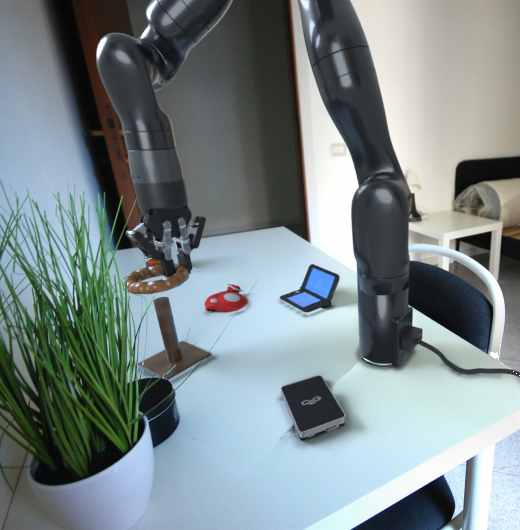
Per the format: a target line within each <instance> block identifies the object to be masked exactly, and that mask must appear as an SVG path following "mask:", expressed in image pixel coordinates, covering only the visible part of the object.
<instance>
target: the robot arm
mask: <svg viewBox="0 0 520 530" xmlns="http://www.w3.org/2000/svg"><path fill="white" fill-rule="evenodd" d="M233 2H234V0H150V2H149V3H148V5H147V6H146V9H145V18H146V20H147V22H148V24H147V26H146V27H145V29H144V31H143V32H142V34H141V35H140V36H139V37H138V38H136V37H133V36H132V35H129V34H126V33H122V32H110V33H107V34H105V35H104V36H103V37H101V39H99V42H98V43H97V47H96V51H95V57H96V58H95V61H96V68H97V71H98V75H99V78H100V80H101V82H102V85H103V87H104V90H105V92H106V94H107V96H108V98H109V100H110V102H111V105H112V107H113V109H114V111H115V113H116V114H117V116H118V118H119V121H120V123H121V129H122V133H123V139H124V142H125V147H126V151H127V160H128V161H127V162H128V168H129V175H130V179H131V181H132V185H133V189H134V194H135V198H136V202H137V207H138V209H139V211H140V216H139V221H140V224H139V225H138V226H135V227H134V228H132V229H127V230H126V231H125V236H126V237H127V238H128V239H129V240H130V241H131V242H132V244H134V245H135V246H136V248H138V249H139V251H141V252H142V254H143V253H144V254H145V256H146V257H148V258H152V259H155V260H159V261H160V265H161V269H162V274H163V275H164V276H163V277H165V278H167V277H170V276H173V275H174V274H176V270H175V265H176V264H175V261H174V259H173V253H172V246H173V243H174V246H175V249H176V251H177V254H176V258H177V263H178V265H180V266H183V267H186V268H187V270H188V273H189V275H191V273H192V271H193V264H192V258H191V253H192V251H193V250H195V249H199V248H200V244H201V241H202V236H203V233H204V230H205V226H206V222H207V219H206V217H205V216H202V215H196V214H194V213H192V211H191V209H190V208H189V205H188V204H189V197H188V191H187V186H186V181H185V175H184V174H185V173H184V170H183V169H184V168H183V164H182V161H181V157H180V155H179V150H178V148H177V141H176V135H175V131H174V126H173V125H174V124H173V122H172V119H171V116H170V115H169V114H168V112H166V111H165V110H164V109H162V107H161V106H160V103H159V101H158V98H157V94H156V92H159V91H161V90H163V89H164V88H165V87H167V86H168V85H169V84H170V83H171V82H172V81H173V80H174V79H175V77H176V76H177V74H178V73H179V71H180V69H181V68H182V66H183V64H184V63H185V61H186V60H187V58H188V56H189V54H190V53H191V51H192V50H193V48H195V47H196V46H197V45H198V44H199V43H200V42H201V41H202V40H203V39H204V38H205V37H206V36H207V35H208V34H209V33H210V32H211V31H212V30H213V29H214V28H215V27H216V26H217V25H218V24H219V23H220V21H221V20H222V19H223V17H225V15H226V14H227V11H228V10H229V8H230V7H231V5H232V3H233ZM297 3H298V9H299V14H300V20H301V27H302V34H303V40H304V45H305V49H306V53H307V57H308V61H309V66H310V68H311V71H312V74H313V78H314V80H315V83H316V86H317V90H318V93H319V96H320V98H321V100H322V103H323V105H324V107H325V110H326V112H327V114H328V115H329V117H330V119H331V121H332V122H333V125H334V126H335V128H336V130H337V131H338V133H339V135H340V136H341V138H342V141H343V142H344V143H345V145H346V147H347V150H348V152H349V155H350V158H351V161H352V164H353V168H354V172H355V175H356V180H357V184H358V187H357V189H356V190H355V192H354V194H353V196H352V199H351V207H350V221H351V237H352V251H353V257H354V259H355V262H356V283H357V284H356V286H357V287H356V289H357V290H356V291H357V320H358V322H357V323H358V324H357V325H358V347H359V350H358V351H359V354H360V355H361V357H362V358H361V360H362V361H363V362H364V363H366V364H368V365H369V366H370V365H371V366H373V367H378V368H389V367H392V368H396V369H398V368H400V367H401V365H402V364H403V363H404V362H405V361H406V360H407V358H408V357H409V356H410V354H411V353H412V352H413V350H414V349H415V348H416V347H417V346H418V345H419V346H421V347H423V348H426V349H427V350H429V351H431V352H432V353H434V354H435V355H436V356H437V357H438V358H439V359H440V360H441V361H442V362H443V364H444V365H446V366H447V367H449V368H450V369H451V370H453V371H454V372H456V373H458V374H463V375H477V374H486V375H487V374H490V375H491V374H498V375H499V374H500V375H503V374H504V375H511V376H515V377H517V378H519V379H520V376H519V375H520V371H519V370H516V369H512V368H502V367H501V368H493V367H492V368H491V367H490V368H484V367H483V368H482V367H476V368H469V369H467V368H462V367H460V366H457V365H456V364H454V363H453V362H451V360H449V359H448V357H446V355H444V353H443V352H442V351H440V350H439V349H438V348H437V347H435V346H433V345H431V344H430V343H427V342H426V341H424V340H423V332H424V331H423V328H421V327H418V326H415V325H413V317H414V315H413V314H414V313H413V312H414V308H413V306H409V305H410V304H409V303H410V301H409V300H410V299H409V298H410V264H411V263H410V262H411V256H410V251H409V250H410V249H409V242H410V241H409V239H410V237H409V235H410V233H409V231H410V213H411V211H412V206H413V196H412V195H413V194H412V191H411V189H410V186H409V184H408V182H407V179H406V176H405V174H404V172H403V168H402V167H401V164H400V162H399V159H398V156H397V154H396V153H397V152H396V151H395V148H394V145H393V142H392V137H391V135H390V130H389V124H388V120H387V115H386V108H385V104H384V99H383V96H382V95H383V94H382V90H381V86H380V83H379V79H378V74H377V70H376V66H375V63H374V59H373V56H372V52H371V48H370V45H369V43H368V40H367V39H368V38H367V36H366V33H365V31H364V27H363V26H362V23H361V21H360V18H359V16H358V13H357V12H356V9H355V7H354V5H353V2H352V1H351V0H297ZM188 226H189V227H188ZM146 230H147V231H148V232H149V233H151V234H152V235H153V241H154V245H155V246H156V249H155V248H154V246H153V245H152V244H151V243H150V242H149V241H148V240H147V239H146V238H147V237H148V236H147V234H146ZM191 231H192V232H191ZM189 232H191V233H190V234H189V235H187V234H188V233H189ZM186 235H187V236H186ZM185 236H186V237H185ZM183 237H185V238H184V239H182V238H183ZM181 239H182V240H181ZM174 264H175V265H174ZM513 371H514V372H513ZM516 373H517V374H516Z"/></svg>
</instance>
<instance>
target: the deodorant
mask: <svg viewBox="0 0 520 530" xmlns="http://www.w3.org/2000/svg"><path fill="white" fill-rule="evenodd" d="M139 224H140V220H138V221H137V222H135V227H137V226H138V225H139ZM146 234H147V236H148V237H147V238H146V239H147V240H148V241H149V242H150V243H151V244H152V245H153V246H154V248H155V249H156V246H155V245H154V241H153V235H152V234H151V233H149V232H148V231H147V230H146ZM142 255H143V258H144V261H145V260H146V259H148V257H146V256H145V254H144V253H143V252H142ZM157 265H160V261H159V260H155V259H150V260H149V261H147V262H146V263H145V266H146V267H151V266H157ZM146 267H145V268H146Z"/></svg>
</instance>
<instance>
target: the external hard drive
mask: <svg viewBox="0 0 520 530" xmlns="http://www.w3.org/2000/svg"><path fill="white" fill-rule="evenodd" d="M280 395H281V397H282V399H283V403H284V405H285V407H286V409H287V412H288V414H289V416H290V419H291V421H292V424H293V427H294V429H295V432H296V434H297V437H298V439H299V440H300V441H301V442H305V441H308V440H311V439H313V438H316V437H319V436H321V435H324V434H326V433H329V432H332V431H334V430H338V429H339V428H342V427H344V426H345V425H346V421H347V419H346V412H345V411H344V410H343V407H342V406H341V405H340V403H339V401H338V399H337V398H336V396H335V395H334V393H333V391H332V389H330V386H329V384H328V383H327V382H326V380H325V378H324V376H323V375H321V374H317V375H314V376H311V377H307V378H304V379H301V380H298V381H294V382H290V383H287V384H284V385H282V386H281V387H280Z"/></svg>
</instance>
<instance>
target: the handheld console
mask: <svg viewBox="0 0 520 530" xmlns="http://www.w3.org/2000/svg"><path fill="white" fill-rule="evenodd" d="M340 279H341V276H340V274H338V273H336V272H333V271H331V270H328V269H326V268H323V267H321V266H319V265H316V264H314V263H311V264H309V266H308V268H307V270H306V273H305V276H304V278H303V281H302V283H301V286H300V287H299V289H296V290H293V291H290V292H288V293H285V294H282V295H280V296H279V299H280V300H282V301H284V302H285V303H287V304H289V305H290V306H293V307H294V308H295V309H297V310H300V311H301V312H302V313H305V314H306V313H311V312H314V311H316V310H318V309H322V310H324V309H327V308H330V307H332V301H333V298H334V295H335V292H336V290H337V287H338V284H339V282H340Z"/></svg>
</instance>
